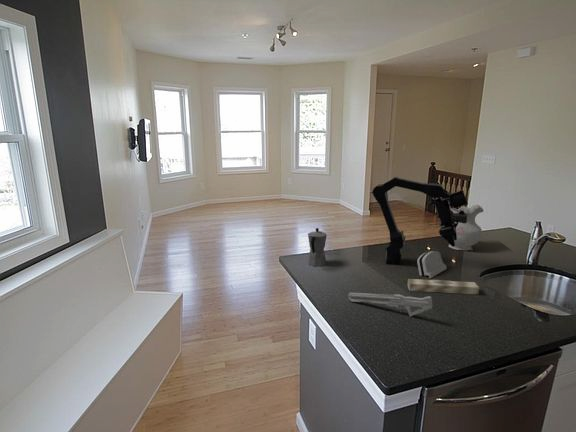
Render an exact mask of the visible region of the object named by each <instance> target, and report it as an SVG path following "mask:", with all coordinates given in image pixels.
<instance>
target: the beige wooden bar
mask: <svg viewBox="0 0 576 432" xmlns="http://www.w3.org/2000/svg"><path fill="white" fill-rule="evenodd" d="M407 288H408V291H409V292H410V291H411V292H427V293H441V294H442V293H444V294H458V295H459V294H463V295H479V292H480V286H479V285H478V284H477V282H475V281H457V280H454V281H453V280H446V279H445V280H444V279H418V278H417V279H416V278H407Z"/></svg>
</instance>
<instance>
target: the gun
mask: <svg viewBox="0 0 576 432" xmlns="http://www.w3.org/2000/svg"><path fill="white" fill-rule="evenodd" d="M347 297H348V300H350V302H353V303H362V302H365V303H370V304H378V305H379V304H380V305H386V306H387V307H392V308H395V307H396V308H397V309H401V310H402V309H403V310H407V313H408V316H409V317H410V318H411V317H413V316H415V315H418V314H421V313H424V312H426V311H428V310H432V308H433V298H432V295H429V296H424V297H414V296H405V295H403V294H398V293H395V294H387V293H385V294H384V293H367V292H365V293H364V292H363V293H362V292H352V291H350V292H349V293H348V296H347ZM412 307H415V308H417V309H415V310H412Z"/></svg>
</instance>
